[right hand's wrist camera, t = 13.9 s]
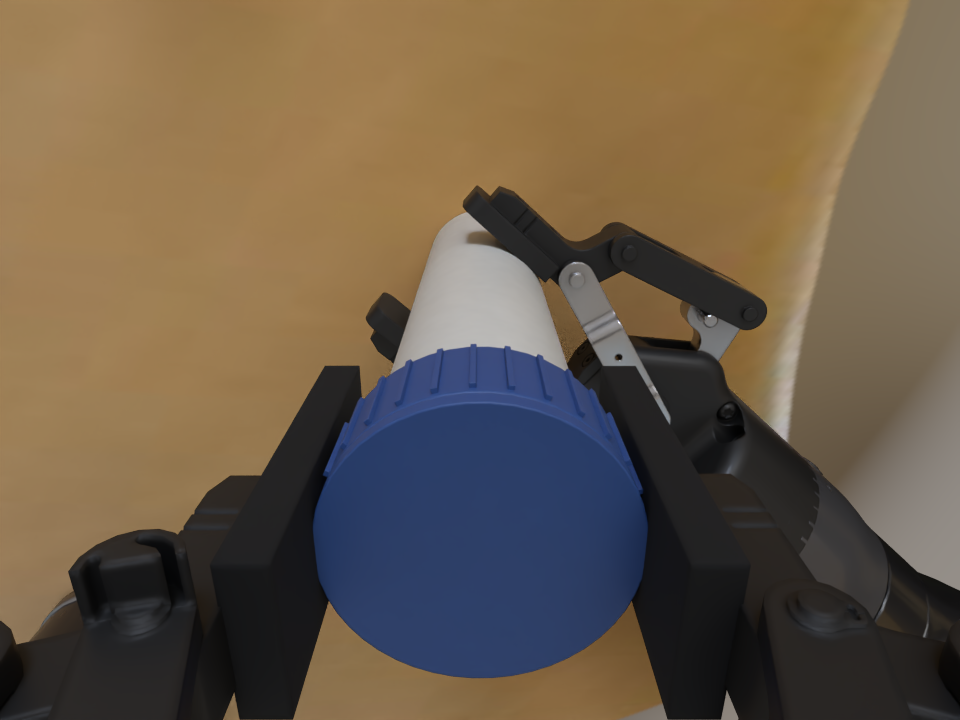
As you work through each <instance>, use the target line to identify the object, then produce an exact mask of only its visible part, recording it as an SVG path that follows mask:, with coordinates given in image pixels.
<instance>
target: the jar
mask: <svg viewBox="0 0 960 720" xmlns="http://www.w3.org/2000/svg"><path fill="white" fill-rule="evenodd" d="M471 344H477V347H496V348H504V347H505V346H510V347H511V350H515V351H519V352H524V353H528V354H530V355H533V356H537V354H539V355H542V356H543V358H544V360H546V361H548V362H550V363H552V364H554V365H556V366H557V367H559V368H561V369H563V370H564V371H565V370H566V369H568V366H567V363H566V360H565V357H564V354H563V351H562V348H561V345H560V342H559V339H558V335H557V332H556V329H555V326H554V323H553V320H552V317H551V314H550V311H549V308H548V305H547V302H546V299H545V296H544V293H543V290H542V287H541V284H540V281H539V278H538V276H537V275H536V274H535V273H534V272H533V271H532V270H531V269H530V268H529V267H528V266H527V265H526V264H525V263H523V262H522V261H521V260H519V259H518V258H517V257H516V256H515V255H514V254H513V253H512V252H511V251H509V250H508V249H507V248H506V247H505V246H504V245H503V244H502V243H501V242H499V241H498V240H497V239H496V238H495V237H494V236H493V235H492V234H490V233H489V232H488V231H487V230H486V229H485V228H484V227H483V226H482V225H480V224H479V223H478V222H477V221H476V220H475V219H474V218H473V217H472V216H471V215H470V214H469V213H468V212H466V213H463V214H460V215H458V216H456V217H455V218H453V219H451V220H450V221H449V222H448V223H446V224H445V225H444V226H443V227H442V229H441V230H440V231H439V233H438V234H437V236H436V238H435V240H434V242H433V245H432V248H431V251H430V254H429V257H428V260H427V264H426V267H425V270H424V273H423V276H422V279H421V282H420V285H419V288H418V291H417V294H416V297H415V300H414V303H413V306H412V309H411V313H410V316H409V319H408V322H407V325H406V328H405V331H404V334H403V337H402V340H401V343H400V346H399V349H398V352H397V355H396V358H395V362H394V365H393V368H392V371H391V374H392V373H393V372H395V371H396V370H398V369H400V368H402V367H403V366H405V363H406V361H408V360H410V359H411V360H412V361H415V360H417V359H420V358H422V357H425V356H427V355H430V354H434V353H437V349H441V348H443V351H445V350H449V349H456V348H464V347H470V345H471ZM391 374H390V375H391Z"/></svg>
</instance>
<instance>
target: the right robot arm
mask: <svg viewBox="0 0 960 720" xmlns="http://www.w3.org/2000/svg"><path fill="white" fill-rule="evenodd" d="M361 397H362V394H361V381H360V368H359V366H325V367H324V369H323V370H322V372H321V374H320V375H319V377H318V379H317V381H316V382H315V384H314V386H313V387H312V389H311V391H310V393H309V394H308V396H307V398H306V400H305V401H304V403H303V405H302V406H301V408H300V410H299V412H298V413H297V415H296V417H295V418H294V420H293V422H292V424H291V425H290V427H289V429H288V431H287V432H286V434H285V436H284V437H283V439H282V441H281V443H280V444H279V446H278V448H277V449H276V451H275V453H274V455H273V456H272V458H271V460H270V462H269V463H268V465H267V467H266V468H265V470H264V472H263V474H262V475H261V476H229V477H228V478H226V479H225V480H224V481H222V482H221V483H219V484H218V485H217V486H215V487H214V488H212V489H211V490H210V491H208V492H207V494H206V495H205V496H204V498H203V499H202V501H201V502H200V504H199V505H198V507H197V508H196V509H195V513H194V514H192V515H191V517H190V518H189V520H188V521H187V522H186V524H185V525H184V530H181V531H180V533H179V534H178V535H177V534H176V533H173V532H169V531H165V530H161V529H150V530H137V531H133V532H129V533H125V534H121V535H117V536H115V537H113V538H111V539H108V540H106V541H104V542H102V543H100V544H97V545H96V546H94V547H93V548H91V549H90V550H89V551H87V552H86V553H85V554H83V555H82V556H80V557H79V558H78V559H77V561H76V562H75V563H74V565H73V566H72V567H71V569H70V570H69V571H68V573H69V576H70V579H71V583H72V586H73V589H74V593H75V596H76V600H77V603H78V606H79V610H80V613H81V616H82V620H83V623H84V626H83V628H82V629H79V630H75V631H72V632H69V633H65V634H61V635H56V636H52V637H48V638H43V639H39V640H34V641H30V642H26V643H21V644H17V645H16V642H15V639H14V637H13V634H12V631H11V629H10V628H9V627H8V626H6V625H5V624H4V623H3V622H2V621H0V720H223V718H224V715H225V713H226V711H227V708H228V706H229V703H230V701H231V699H232V696H233V694H234V693H235V698H236V703H237V708H238V713H239V719H240V720H293V718H294V714H295V711H296V708H297V704H298V701H299V698H300V695H301V691H302V688H303V685H304V681H305V678H306V675H307V671H308V668H309V665H310V661H311V658H312V655H313V651H314V648H315V645H316V641H317V638H318V635H319V631H320V628H321V625H322V621H323V618H324V615H325V612H326V608H327V605H328V602H329V600H328V598H327V597H326V594H325V592H324V590H323V588H322V586H321V584H320V582H319V578H318V570H317V562H316V554H315V545H314V536H313V519H314V514H315V509H316V506H317V503H318V500H319V497H320V495H321V492H322V489H323V487H324V484H325V482H326V480H327V477H325V476H323V473H324V471H325V468H326V466H327V464H328V461H329V459H330V457H331V454H332V452H333V449H334V447H335V445H336V442H337V440H338V437H339V435H340V433H341V430H342V428H343V426H344V423H345V422H347V423H349V422H350V419H351V417H352V414H353V412H354V409H355V407H356V404H357V402H358V400H359V399H360V398H361ZM599 403H600V405H601V406H602V408H603V409H604V411H605V413H606V414H607V413H609V412H610V413H611V414H612V416H613V418H614V421H615V423H616V426H617V428H618V430H619V433H620V435H621V438H622V440H623V442H624V445H625V447H626V450H627V452H628V454H629V457H630V459H631V462H632V464H633V467H634V469H635V471H636V474H637V476H638V479H639V481H640V483H641V486H642V488H643V494H641V495H640V496H641V498H642V501H643V503H644V507H645V511H646V516H647V520H648V533H647V543H646V551H645V560H644V568H643V576H642V580H641V583H640V585H639V587H638V590H637V592H636V594H635V596H634V598H633V599H632V603H633V606H634V609H635V613H636V616H637V619H638V623H639V626H640V629H641V633H642V636H643V639H644V643H645V646H646V649H647V653H648V656H649V659H650V662H651V666H652V669H653V672H654V676H655V679H656V682H657V686H658V689H659V692H660V696H661V699H662V702H663V705H664V709H665V712H666V716H667V719H669V720H721V717H722V712H723V706H724V701H725V696H726V691H728V694H729V696H730V698H731V701H732V703H733V706H734V708H735V710H736V713H737V715H738V718H739V719H738V720H960V620H958V621H957V622H956V623H955V624H953V625H952V626H951V628H950V631H949V633H948V636H947V639H946V642H942V641H938V640H933V639H929V638H925V637H920V636H916V635H912V634H907V633H903V632H898V631H894V630H891V629H888V628H884V627H881V626H877V624H876V623H875V621H874V620H873V618H872V617H871V615H870V613H869V612H868V610H867V609H866V608H865V607H864V606H862V605H861V604H860V603H859V602H858V601H856V600H855V599H854V598H853V597H852V596H850V595H848V594H847V593H845V592H843V591H841V590H839V589H837V588H835V587H833V586H831V585H828V584H824V583H821V582H817V580H816V579H815V577H814V576H813V574H812V573H811V572H810V570H809V569H808V567H807V566H806V564H805V563H804V562H803V560H802V559H801V557H800V556H799V554H798V553H797V552H796V550H795V549H794V547H793V546H792V544H791V543H790V542H789V540H788V539H787V537H786V536H785V534H784V533H783V532H782V530H781V529H780V528H778V527H777V523H776V521H775V520H774V519H773V517H772V516H771V514H770V513H769V512H767V510H766V507H765V506H764V504H763V503H762V501H761V500H760V499H759V497H758V496H757V494H756V493H755V491H754V490H753V489H751V488H750V487H749V486H747V485H746V484H744V483H743V482H742V481H740V480H739V479H737V478H736V477H735V476H733V475H732V474H698V472H697V471H696V469H695V467H694V465H693V464H692V462H691V460H690V459H689V457H688V455H687V453H686V452H685V450H684V448H683V447H682V445H681V443H680V441H679V440H678V438H677V436H676V434H675V433H674V431H673V429H672V428H671V426H670V424H669V422H668V421H667V419H666V417H665V416H664V414H663V412H662V410H661V409H660V407H659V405H658V403H657V402H656V400H655V398H654V397H653V395H652V393H651V391H650V390H649V388H648V386H647V385H646V383H645V381H644V379H643V378H642V376H641V374H640V373H639V371H638V369H637V367H636V366H601V377H600V390H599Z"/></svg>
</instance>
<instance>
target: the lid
mask: <svg viewBox="0 0 960 720" xmlns="http://www.w3.org/2000/svg"><path fill="white" fill-rule="evenodd" d="M323 476H325V477H327V480H326V482H325V484H324V487H323V489H322V492H321V495H320V497H319V500H318V503H317V506H316V509H315V514H314V519H313V536H314V545H315V554H316V562H317V570H318V578H319V582H320V584H321V586H322V588H323V590H324V592H325V594H326V597H327V598H328V600H329V601H330V603H331V605H332V606H333V608H334V609H335V611H336V612H337V614H338V615H339V616H340V617H341V618H342V619H343V620H344V622H345V623H346V624H347V625H348V626H349V627H350V628H351V629H352V630H353V631H354V632H355V633H356V634H358V635H359V636H360V637H361V638H362V639H363V640H365V641H366V642H367V643H369V644H370V645H372V646H373V647H375V648H376V649H377V650H379V651H381V652H383V653H384V654H386V655H388V656H390V657H392V658H394V659H396V660H398V661H400V662H403V663H405V664H408V665H410V666H412V667H415V668H419V669H422V670H425V671H429V672H432V673H437V674H443V675H448V676H454V677H465V678H496V677H506V676H514V675H518V674H523V673H528V672H532V671H536V670H539V669H542V668H545V667H548V666H551V665H553V664H556V663H558V662H560V661H563V660H565V659H567V658H569V657H571V656H573V655H574V654H576V653H578V652H580V651H581V650H583V649H585V648H586V647H588V646H589V645H590V644H592V643H593V642H595V641H596V640H597V639H599V638H600V637H601V636H602V635H603V634H604V633H605V632H606V631H608V630H609V629H610V628H611V627H612V626H613V625H614V624H615V623H616V621H617V620H618V619H619V618H620V617H621V615H622V614H623V613H624V612H625V610H626V609H627V607H628V606H629V604H630V602H631V601H632V599H633V598H634V596H635V594H636V592H637V590H638V587H639V585H640V583H641V580H642V576H643V568H644V560H645V551H646V543H647V533H648V520H647V516H646V511H645V507H644V503H643V501H642V498H641V496H640V495H641V494H643V488H642V486H641V483H640V481H639V479H638V476H637V474H636V471H635V469H634V467H633V464H632V462H631V459H630V457H629V454H628V452H627V450H626V447H625V445H624V442H623V440H622V438H621V435H620V433H619V430H618V428H617V426H616V423H615V421H614V418H613V416H612V414H611V413H610V412H609V413H607V414H606V413H605V411H604V409H603V408H602V406H601V405H600V403H599V400H598V398H597V395H596V393H595V391H594V390H593V389H592V388H591V389H590V390H588V389H587V388H586V387H584V386H583V385H582V384H581V383H580V382H579V381H578V380H577V379H576V378H574V377H573V374H572V371H570V370H569V369H566V370H565V371H564V370H563V369H561V368H559V367H557V366H556V365H554V364H552V363H550V362H548V361H546V360H544V358H543V356H542V355H539V354H537V356H533V355H530V354H528V353H524V352H519V351H515V350H511V347H510V346H505V347H504V348H496V347H477V344H471V345H470V347H464V348H456V349H449V350H445V351H443V348H441V349H437V353H434V354H430V355H427V356H425V357H422V358H420V359H417V360H415V361H412V360H411V359H410V360H408V361H406V363H405V366H403V367H402V368H400V369H398V370H396V371H395V372H393V373H392V374H391V375H389V376H388V377H387V378H385V377H384V376H382V377H381V378H380V379H379V381H378V383H377V386H376V387H375V388H374V389H373V390H372V391H371V392H370V393H369V394H368V395H367V396H366V398H365V399H363V398H362V397H361V398H360V399H359V400H358V402H357V404H356V407H355V409H354V412H353V414H352V417H351V419H350V422H349V423H347V422H345V423H344V426H343V428H342V430H341V433H340V435H339V437H338V440H337V442H336V445H335V447H334V449H333V452H332V454H331V457H330V459H329V461H328V464H327V466H326V468H325V471H324V473H323Z"/></svg>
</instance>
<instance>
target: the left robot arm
mask: <svg viewBox="0 0 960 720" xmlns="http://www.w3.org/2000/svg"><path fill="white" fill-rule="evenodd" d="M463 208H464V209H465V210H466V211H467V212H468V213H469V214H470V215H471V216H472V217H473V218H474V219H475V220H476V221H477V222H478V223H479V224H480V225H482V226H483V227H484V228H485V229H486V230H487V231H488V232H489V233H490V234H492V235H493V236H494V237H495V238H496V239H497V240H498V241H499V242H501V243H502V244H503V245H504V246H505V247H506V248H507V249H508V250H509V251H511V252H512V253H513V254H514V255H515V256H516V257H517V258H518V259H519V260H521V261H522V262H523V263H525V264H526V265H527V266H528V267H529V268H530V269H531V270H532V271H533V272H534V273H535V274H536V275H537V276H538V277H540V278H541V279H542V280H543V281H544V282H546V281H547V280H548V279H549V278H551V279H552V280H553V281H554V282H555V283H556V284H558V285H559V286H560V288H561V290H562V292H563V294H564V295H565V297H566V299H567V301H568V303H569V304H570V306H571V308H572V310H573V312H574V313H575V315H576V317H577V319H578V321H579V322H580V324H581V326H582V328H583V330H584V332H585V334H586V335H587V337H588V339H587V340H586V341H585V342H583V343H582V344H581V345H580V346H579V347H578V348H577V349H576V350H575V352H574V353H573V355H572V357H571V358H570V360H569V362H568V363H567V366H568V369H569V370H570V371H572V374H573V377H574V378H576V379H577V380H578V381H579V382H580V383H581V384H582V385H583V386H584V387H586V388H587V389H588V390H590V389H591V388H592V389H593V390H594V391H595V393H596V395H597V398H598V400H599V390H600V377H601V366H636V367H637V369H638V371H639V373H640V374H641V376H642V378H643V379H644V381H645V383H646V385H647V386H648V388H649V390H650V391H651V393H652V395H653V397H654V398H655V400H656V402H657V403H658V405H659V407H660V409H661V410H662V412H663V414H664V416H665V417H666V419H667V421H668V422H669V424H670V426H671V428H672V429H673V431H674V433H675V434H676V436H677V438H678V440H679V441H680V443H681V445H682V447H683V448H684V450H685V452H686V453H687V455H688V457H689V459H690V460H691V462H692V464H693V465H694V467H695V469H696V471H697V472H698V474H732V475H733V476H735V477H736V478H737V479H739V480H740V481H742V482H743V483H744V484H746V485H747V486H749V487H750V488H751V489H753V490H754V491H755V493H756V494H757V496H758V497H759V499H760V500H761V501H762V503H763V504H764V506H765V507H766V510H767V512H769V513H770V514H771V516H772V517H773V519H774V520H775V521H776V523H777V527H778V528H780V529H781V530H782V532H783V533H784V534H785V536H786V537H787V539H788V540H789V542H790V543H791V544H792V546H793V547H794V549H795V550H796V552H797V553H798V554H799V556H800V557H801V559H802V560H803V562H804V563H805V564H806V566H807V567H808V569H809V570H810V572H811V573H812V574H813V576H814V577H815V579H816V580H817V582H821V583H824V584H828V585H831V586H833V587H835V588H837V589H839V590H841V591H843V592H845V593H847V594H848V595H850V596H852V597H853V598H854V599H855V600H856V601H858V602H859V603H860V604H861V605H862V606H864V607H865V608H866V609H867V610H868V612H869V613H870V615H871V617H872V618H873V620H874V621H875V623H876V624H877V626H881V627H884V628H888V629H891V630H894V631H898V632H903V633H907V634H912V635H916V636H920V637H925V638H929V639H933V640H938V641H942V642H946V639H947V636H948V633H949V631H950V628H951V626H952V625H953V624H955V623H956V622H957V621H958V620H960V591H959V590H957V589H955V588H953V587H951V586H948V585H946V584H944V583H942V582H940V581H938V580H936V579H934V578H931V577H929V576H926V575H924V574H921V573H918V572H917V571H916V570H915V569H914V568H913V567H911V566H910V565H909V564H908V563H907V562H906V561H905V560H904V559H903V558H902V557H901V556H900V555H899V554H897V553H896V552H895V551H894V550H893V549H892V548H891V547H890V546H889V545H888V544H887V543H886V542H885V541H883V540H882V539H881V538H880V537H879V536H878V535H877V534H876V533H875V532H874V531H873V530H872V529H871V528H870V527H869V526H868V525H867V524H866V523H865V522H864V520H863V519H862V518H861V516H860V515H859V514H858V512H857V511H856V510H855V509H854V507H853V506H852V505H851V504H850V502H849V501H848V500H847V499H846V498H845V497H844V496H843V495H842V494H841V493H840V492H839V491H838V490H837V489H836V488H835V487H834V486H833V485H832V484H831V483H830V482H829V481H828V480H827V479H826V478H825V477H824V476H822V475H823V474H822V473H821V472H820V471H819V469H818V468H817V467H816V466H815V465H814V464H813V463H812V462H810V461H809V460H807V459H806V458H804V457H802V456H801V455H800V454H799V453H798V452H797V451H795V450H794V449H793V448H792V447H791V446H790V445H789V444H788V443H787V442H786V441H785V440H784V439H782V438H781V437H780V436H779V435H778V434H777V433H776V432H775V431H774V430H773V429H772V428H771V427H770V426H769V425H767V424H766V423H765V422H764V421H763V420H762V419H761V418H760V417H759V416H758V415H757V414H756V413H755V412H754V411H752V410H751V409H750V408H749V407H748V406H747V405H746V404H745V403H744V402H743V401H742V400H741V399H740V398H739V397H738V396H736V395H735V394H734V393H733V392H732V391H731V390H730V389H729V388H728V386H727V383H726V380H725V375H724V371H723V368H722V366H721V364H720V363H719V360H720V358H721V357H722V355H723V354H724V352H725V351H726V349H727V348H728V346H729V345H730V344H731V342H732V341H733V339H734V338H735V336H736V335H737V333H738V332H739V330H740V329H742V330H751V329H754V328H756V327H758V326H759V325H760V324H761V323H762V322H763V321H764V320H765V318H766V315H767V307H766V304H765V303H764V301H763V300H761V299H760V298H759V297H757V296H756V295H754V294H753V293H752V292H750V291H749V290H747V289H746V288H745V287H743V286H742V285H740V284H739V283H738V282H736V281H735V280H733V279H731V278H729V277H727V276H725V275H723V274H721V273H719V272H717V271H715V270H713V269H711V268H709V267H707V266H705V265H703V264H701V263H699V262H698V261H696V260H694V259H692V258H690V257H688V256H686V255H684V254H682V253H680V252H678V251H676V250H674V249H672V248H670V247H668V246H666V245H664V244H662V243H660V242H658V241H656V240H654V239H652V238H650V237H648V236H646V235H645V234H643V233H641V232H639V231H637V230H635V229H633V228H631V227H629V226H627V225H625V224H623V223H620V222H613V223H610V224H608V225H606V226H605V227H604V228H603V229H602V230H601V232H600V233H598V234H596V235H594V236H592V237H590V238H588V239H586V240H583V241H578V242H574V241H570V240H567V239H565V238H564V237H562V236H561V235H560V234H559V233H558V232H557V231H556V230H555V229H554V228H553V227H552V226H550V225H549V224H548V223H547V222H546V221H545V220H544V219H543V218H542V217H541V216H540V215H539V214H538V213H537V212H535V211H534V210H533V209H532V208H531V207H530V206H529V205H528V204H527V203H526V202H525V201H524V200H523V199H521V198H520V197H519V196H518V195H517V194H516V193H515V192H514V191H511V190H509V189H506V188H503V187H501V186H499V187H498V188H497V189H496V190H495V191H494V193H493V194H492V195H491V196H490V195H488V194H487V193H486V192H485V191H484V190H483V189H482V188H480V187H479V186H476V187H475V188H474V189H473V190H472V192H471V193H470V194H469V195H468V196H467V197H466V198H465V200H464V201H463ZM621 271H624V272H626V273H628V274H630V275H632V276H634V277H636V278H638V279H640V280H642V281H644V282H646V283H648V284H650V285H652V286H654V287H656V288H658V289H660V290H662V291H664V292H666V293H669V294H671V295H673V296H675V297H677V298H679V299H681V300H682V302H681V305H680V312H681V315H682V317H683V318H684V319H685V320H686V321H687V322H688V323H689V324H690V325H691V326H692V327H693V338H692V340H691V341H683V340H673V339H662V338H651V337H641V336H631V335H627V334H626V332H625V330H624V328H623V326H622V324H621V323H620V321H619V319H618V317H617V315H616V314H615V312H614V310H613V308H612V306H611V304H610V303H609V301H608V299H607V297H606V295H605V293H604V291H603V289H602V287H601V286H600V284H599V282H601V281H603V280H605V279H607V278H609V277H611V276H613V275H615V274H617V273H619V272H621ZM410 313H411V311H410V310H409V309H408V308H407V307H405V306H404V305H403V304H402V303H400V302H399V301H398V300H397V299H396V298H394V297H393V296H391V295H390V294H388V293H383V294H382V295H381V296H380V297H379V298H378V300H377V301H376V302H375V303H374V304H373V305H372V307H371V308H370V310H369V312H368V314H367V316H366V320H367V322H368V324H369V325H370V326H371V327H372V328H373V329H374V332H373V334H372V336H371V338H370V339H371V340H372V342H373V344H374V345H375V347H376V349H377V350H378V352H380V353H381V354H382V355H383V356H385V357H386V358H387V359H389V360H391V361H392V363H394V362H395V358H396V355H397V352H398V349H399V346H400V343H401V340H402V337H403V334H404V331H405V328H406V325H407V322H408V319H409V316H410ZM83 626H84V623H83V620H82V616H81V613H80V610H79V606H78V603H77V600H76V596H75V593H74V591H73V592H72V593H70V594H68V595H67V596H66V597H64V598H63V599H62V600H61V601H60V602H59V603H58V604H57V605H56V607H55V608H54V609H53V610H52V611H51V613H50V614H49V615H48V616H47V617H46V619H45V620H44V622H43V623H42V625H41V627H40V629H39V630H38V631H37V633H36V634H35V635H34V636H33V637H32V639H31V640H30V641H34V640H39V639H43V638H48V637H52V636H56V635H61V634H65V633H69V632H72V631H75V630H79V629H82V628H83ZM30 641H29V642H30Z"/></svg>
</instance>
